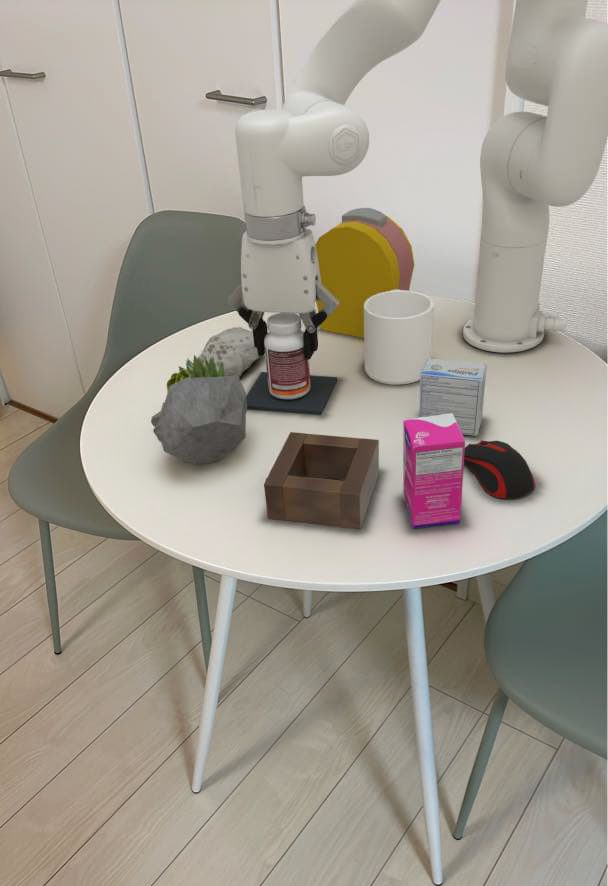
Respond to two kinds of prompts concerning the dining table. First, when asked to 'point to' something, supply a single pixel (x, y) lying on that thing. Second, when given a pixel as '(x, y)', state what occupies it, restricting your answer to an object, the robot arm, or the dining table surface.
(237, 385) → the potted plant
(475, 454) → the computer mouse
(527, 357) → the dining table surface
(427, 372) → the medicine box
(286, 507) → the holder
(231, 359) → the decorative stone
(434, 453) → the supplement box
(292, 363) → the pill bottle
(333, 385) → the mat
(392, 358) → the mug
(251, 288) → the robot arm
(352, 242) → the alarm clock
